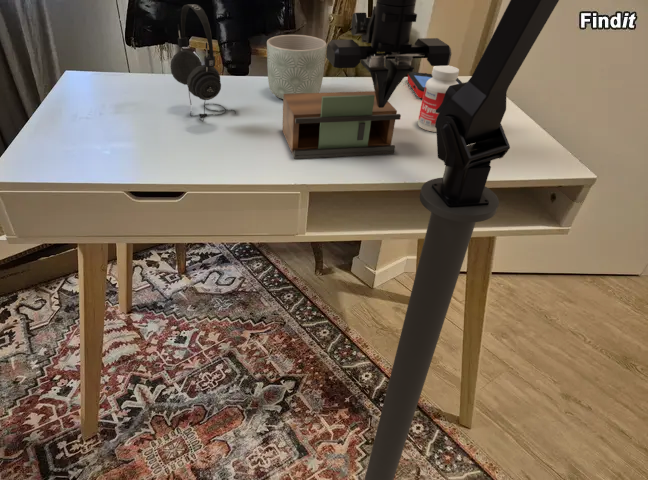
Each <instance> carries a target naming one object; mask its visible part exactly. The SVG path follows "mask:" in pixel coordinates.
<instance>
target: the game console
mask: <svg viewBox="0 0 648 480" xmlns="http://www.w3.org/2000/svg"><path fill="white" fill-rule="evenodd" d="M432 77H433V76H432V73H427V72H418V71H413V72H408V73H407V82H408V84H409V85H410V87H411V88H412V90H413V91H414V93H415V94H416V96H417V98H419V99H420V100H421V99H423V95H424V90H425V85H426V82H427V81H428V80H429V79H430V78H432ZM456 81H457V82H458V84H461V83H463V82H462V81H461V79H459V77H458V78H457V79H456Z"/></svg>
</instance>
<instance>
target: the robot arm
mask: <svg viewBox="0 0 648 480" xmlns="http://www.w3.org/2000/svg"><path fill="white" fill-rule="evenodd" d="M559 2H560V0H509V2H508V4H507V6H506V8H505V10H504V12H503V14H502V15H501V18H500V20H499V22H498V23H497V26H496V28H495V30H494V32H493V34H492V35H491V38H490V40H489V41H488V43H487V45H486V48H485V50H484V51H483V53H482V55H481V57H480V59H479V61H478V63H477V65H476V67H475V69H474V71H473V73H472V75H471V77H470V78H469V80H468V81H466V82H462V83H461V84H456V85H451V86H449V88H448V89H447V91H446V93H445V96H444V99H443V102H442V104H441V105H440V107H439V108H438V109H437V110H436V113H439V114H438V116H437V119H436V123H435V128H436V131H437V132H436V148H437V149H436V150H437V151H436V152H437V159H439V160H441V161H443V163H444V166H445V168H444V173H443V175H442V178H443V179H442V183H434V184H432V188H433V189H434V191H435V192H436V193H437V194H438V196H439V197H440V198H441V199H442V200H443V202H444V203H445V204H446V205H447V206H448V207H450V208H453V207H467V206H482V205H489V202H490V201H489V200H488V199H487V198H486V197H485V196H484V195H483V191H484V188H485V187H486V184H487V181H488V177H489V175H490V172H491V170H492V169H491V168H492V166H491V162H492V161H495V160H497V159H502V158H504V157H505V155H506V154H507V152H508V151H509V150H510V149H511V145H510V143H509V140H508V138H507V136H506V133H505V131H504V128H503V125H502V120H503V119H504V116H505V113H506V111H507V92H508V90H509V87H510V86H511V84H512V82H513V80H514V78H515V77H516V75H517V73H518V72H519V70H520V69H521V66H522V65H523V63H524V62H525V60H526V58H527V57H528V55H529V53H530V51H531V49H532V48H533V46H534V44H535V43H536V41H537V39H538V37H539V36H540V34H541V32H542V30H543V29H544V28H545V25H546V24H547V22H548V20H549V18H550V17H551V15H552V13H553V11H554V10H555V8H556V6H557V5H558V3H559ZM416 4H417V0H376V3H375V5H374V6H373V9H372V12H371V17H368V15H367V12H354V13H352V18H351V24H350V25H351V27H350V28H351V30H350V31H351V32H350V33H351V35H352V36H361V43H366V44H370V45H359V44H358V43H357V42H355V40H353V39H351V38H350V39H349V38H348V39H330V41H329V42H328V44H327V46H326V56H325V59H327V61H328V62H329V64H331V66H332V67H333V68H336V69H354V68H357V66H358V65H359V64H361V65H362V67H364V69H366V71H367V72H369V74H370V78H371V80H372V85H373V91H375V96H376V101H377V106H378V107H379V108H383V107H384V106H385V104H386V103H387V101H388V102H389V100H390V98H391V97H392V96H393V94H394V92H395V90H396V89H397V87H398V86H399V85H400V83H401V82H402V81H403V80H404V78H405V77H406V76H408V74H409V73H411V72H415V68H414V66H412V61H413V59H426V61H427V63H428V64H429V65H430V66H431V67H434V66H450V63H451V58H452V48H451V47H450V45H449V44H448V43H445V42H444V41H443V40H441V39H440V38H438V37H431V38H429V37H428V38H425V37H424V38H417V39H416V41H415V42H414V45H413V44H412V43H411V42H410V40H411V39H410V38H411V33H412V27H413V23H417V17H418V14H417V13H416V12H415V10H416Z"/></svg>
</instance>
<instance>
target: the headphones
mask: <svg viewBox="0 0 648 480" xmlns="http://www.w3.org/2000/svg"><path fill="white" fill-rule="evenodd" d="M190 9H191V10H193V12H194V13H195V14H196V15H197V17H198V19H199V20H200V22H201V25H202V27H203V30H204V34H205V37H206V42H205V56H204V58H203V59H204V64H203V63H202V61H201V59H200V57H199V56H198V55H197V54H196V53H195V52H193V51H191V50H188V49H183V48H188V47H189V39H188V37H186V20H187V15H188V12H189V10H190ZM177 31H178V36H179V37H178V38H177V43H178V48H180V51H178V52H176V53H175V54H174V55H173V56H172V58H171V60H170V73H171V75H172V77H173V78H174V80H176V82H178V83H179V84H182V85H184V86H185V85H187V89H188V97H189V98H191V95H190V94H192V95H193V96H194V97H196V98H199V99H200V100H201V101H204V103H203V113H199V114H195V115H192V112H190V113H189V116H190V117H198V116H199V121H201V122H203V121H204V120H205V117H208V116H212V114H207V113H205V112H206V110H209V111H211V112H212V111H213V112H217V109H215V110H214V109H210V108H207V107H206V105H208V103H206V101H209V100H213V99H214V98H216V97H217V96H218V95H219V94H220V92H221V89H222V83H221V76H220V73H219V71H218V69H216V67H215V66H216V56H215V55H214V45H213V44H214V43H213V38H212V37H213V35H212V30H211V26H210V21H209V19H208V15H207V13H206V12H205V10H204V9H203V7H201V6H200V5H199V4H196V3H194V4H193V3H192V4H191V3H190V4H184V5H183V6H182V8H181V11H180V24H179V23H177ZM189 103H190V104H192V99H189ZM215 105H216V106H221V107H222V108H223V109H222V110H221V112H223V113H219V114H216V116H220V115H224V114H225V113H226V112H227V109H226V108H225V107H224V106H223V105H221V104H217V103H214V106H215ZM232 111H233V112H234V115H236V114H237V112H236V111H235V109H232ZM201 118H202V119H201Z"/></svg>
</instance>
